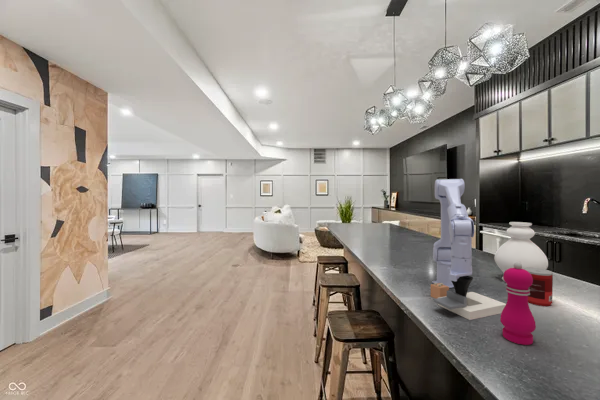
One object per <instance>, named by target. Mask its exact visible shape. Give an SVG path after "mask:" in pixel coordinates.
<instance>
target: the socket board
mask: <svg viewBox="0 0 600 400" xmlns="http://www.w3.org/2000/svg"><path fill="white" fill-rule="evenodd" d="M445 297H447V296H445ZM466 297H467V306H466V307H461V308H456V309H451V310H450V309H448V308H446V307H444V306H442V305H440V304H437V305H438V306H439V307H441V308H443V309H445V310H448V311H449V312H452V313H453V314H457V315H458V316H461V317H462V318H465V319H466V320H469V321H471V320H476V319H483V318H487V317H490V316H495V315H499V314H500V315H501V313H502V311H503V309H504V307H505V305H506V303H504V302H502V301H499V300H497V299H493V298H492V297H489V296H486V295H483V294H481V293H480V294H479V293H477V292H475V291H467V295H466ZM439 298H443V297H439Z"/></svg>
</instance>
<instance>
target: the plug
mask: <svg viewBox="0 0 600 400" xmlns="http://www.w3.org/2000/svg"><path fill="white" fill-rule="evenodd" d="M447 291H450V288H449V287H448V286H446V285H443V283H433V284H432V283H431V284H430V297H431V298H433V299H437V298H439V297H445V296H447Z"/></svg>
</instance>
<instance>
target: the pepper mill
mask: <svg viewBox="0 0 600 400" xmlns="http://www.w3.org/2000/svg"><path fill="white" fill-rule="evenodd" d="M521 268H522V264H521V263H519V262H516V263H514V268H509V269H507V270H506V271H505V272H504V273H503V275H502V277H503V278H504V281H503V282H505V284H506V285H505V291H506V293H507V300H506V303H505V304H506V305H505V307H504V309H503V311H502V313H500V319H499V320H500V324H501V325H503V328H502V336H503V338H505V340H506V341H507V340H508V341H509V342H512V343H514V344H518V345H523V346H530V345H532V344H533V343H534V335H533V332H534V331H536V328H537V327H536V326H537V325H536V321H535V320H536V319H535V317H534V315H533V313H532V311H531V309H530V305H529V303H528V295H530V289H529V287H530V286H531V285H532V283H533V278H532V275H531V274H530V273H529V272H528V271H526V270H524V269H521Z"/></svg>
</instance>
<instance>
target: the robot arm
mask: <svg viewBox="0 0 600 400" xmlns="http://www.w3.org/2000/svg"><path fill="white" fill-rule="evenodd" d="M465 187H466V184H465V180H464V179H463V178H449V179H448V178H447V179H445V178H444V179H442V178H441V179H438V178H437V179H436V180H435V181H434V198H435V199H436V200H438V201H439V203H440V238H439V239H438V240H436V241H435V242H434V243H433V244H432V246H433V248H432V261H434V262H436V280H433V281H431V284H432V283H433V284H434V283H443V285H446V286H448V287H449V289H450V288H454V293H457V294H459V295H462V296H464V297H466V295H467V293H468V292H469V291H468V290H469V288H470V284H471V282H472V281H473V279H474V277H473V276H471V275H473V266H472V263H473V262H472V260H473V258H472V253H473V252H472V251H473V250H472V249H473V248H472V247H473V246H472V244H473V243H472V241H473V240H472V239H473V238H474V236H475V223H474V220H473V219H472V218H471V217H469V215H468V211H467V210H468V209H467V208H466V206H465V204H464V203H462V201H461V197H462V196H463V194H464V193H465Z"/></svg>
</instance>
